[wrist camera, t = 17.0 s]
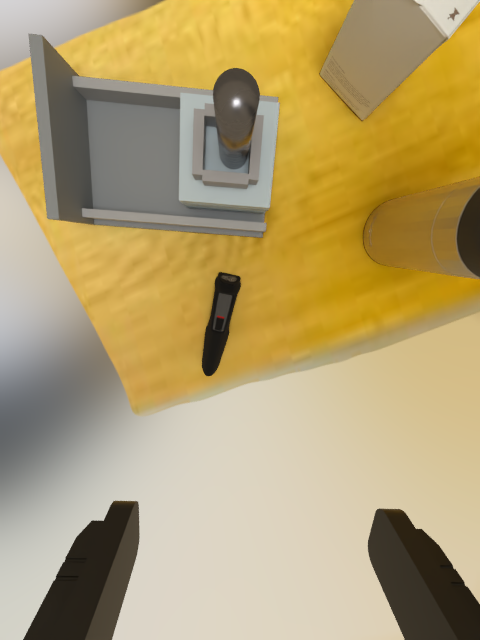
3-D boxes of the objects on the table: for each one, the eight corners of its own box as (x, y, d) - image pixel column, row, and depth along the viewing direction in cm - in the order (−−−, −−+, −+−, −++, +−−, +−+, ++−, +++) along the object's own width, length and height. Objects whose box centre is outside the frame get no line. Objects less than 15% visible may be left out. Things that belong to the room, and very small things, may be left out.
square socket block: (270, 129, 35) (285, 89, 26) (262, 214, 38) (273, 205, 29) (189, 121, 35) (175, 77, 25) (187, 208, 37) (173, 197, 28)
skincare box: (397, 80, 35) (521, -40, 20) (359, 125, 36) (450, 44, 21) (352, 25, 34) (451, -150, 19) (313, 74, 35) (377, -53, 20)
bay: (273, 106, 36) (287, 62, 27) (261, 237, 40) (270, 236, 31) (79, 86, 34) (28, 33, 26) (88, 224, 38) (47, 218, 30)
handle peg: (249, 139, 29) (261, 71, 18) (246, 170, 30) (257, 125, 18) (220, 136, 29) (214, 65, 17) (218, 168, 30) (211, 120, 18)
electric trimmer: (197, 365, 45) (194, 374, 42) (217, 270, 41) (216, 273, 38) (220, 369, 46) (219, 379, 43) (242, 276, 41) (243, 279, 38)
